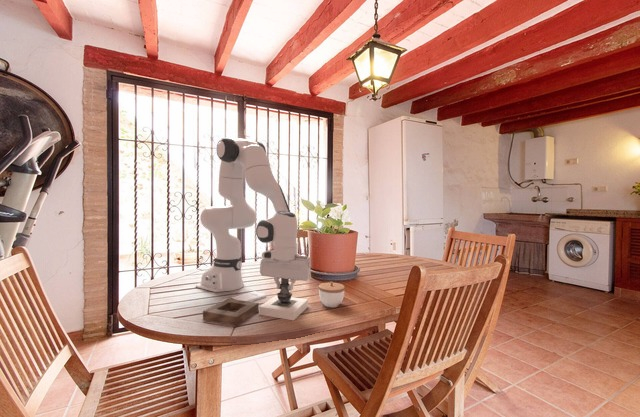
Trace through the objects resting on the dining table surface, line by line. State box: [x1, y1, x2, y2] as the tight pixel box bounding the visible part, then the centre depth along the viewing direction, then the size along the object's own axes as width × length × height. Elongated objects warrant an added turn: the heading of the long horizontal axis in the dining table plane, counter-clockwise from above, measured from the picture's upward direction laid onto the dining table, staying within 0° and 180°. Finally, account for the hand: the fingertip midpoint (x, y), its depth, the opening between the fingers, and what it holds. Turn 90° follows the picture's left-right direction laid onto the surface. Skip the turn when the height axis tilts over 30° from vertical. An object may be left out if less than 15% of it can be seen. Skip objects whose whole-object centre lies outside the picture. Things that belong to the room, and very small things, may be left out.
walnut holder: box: [202, 298, 260, 327], centre depth 106 cm, size 14×14×3 cm
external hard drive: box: [230, 290, 267, 302], centre depth 125 cm, size 2×8×12 cm
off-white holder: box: [258, 294, 309, 321], centre depth 112 cm, size 14×14×3 cm
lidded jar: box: [318, 281, 346, 308], centre depth 119 cm, size 11×11×9 cm
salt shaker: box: [276, 278, 293, 307], centre depth 111 cm, size 6×6×12 cm
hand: (284, 289), depth 111 cm, fingers closed on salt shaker, 3 cm apart
